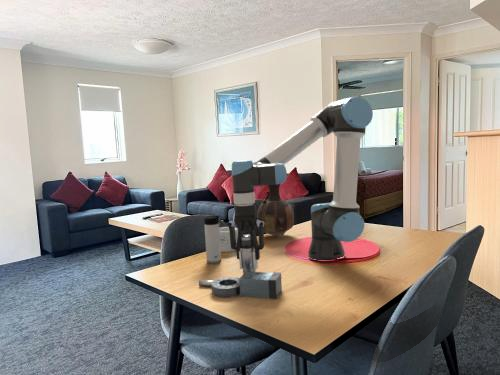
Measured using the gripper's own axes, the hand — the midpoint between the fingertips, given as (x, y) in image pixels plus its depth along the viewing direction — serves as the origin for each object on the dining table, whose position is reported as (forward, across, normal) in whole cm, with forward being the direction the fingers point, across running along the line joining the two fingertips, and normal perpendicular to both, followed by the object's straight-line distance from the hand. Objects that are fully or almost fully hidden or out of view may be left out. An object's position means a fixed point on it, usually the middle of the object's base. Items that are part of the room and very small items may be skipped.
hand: (249, 267), depth 136 cm
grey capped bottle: (+4, 0, 0) cm, 4 cm away
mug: (+5, +22, -39) cm, 45 cm away
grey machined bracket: (+5, +1, +10) cm, 11 cm away
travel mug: (+5, +22, -20) cm, 30 cm away
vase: (+5, +6, -65) cm, 65 cm away
